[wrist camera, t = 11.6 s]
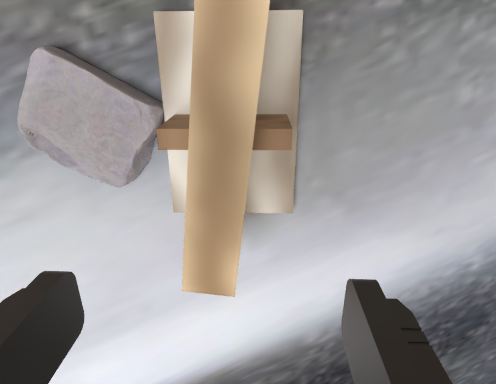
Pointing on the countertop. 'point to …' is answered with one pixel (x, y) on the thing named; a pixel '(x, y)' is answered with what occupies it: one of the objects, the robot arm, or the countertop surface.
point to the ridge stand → (267, 117)
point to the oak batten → (221, 138)
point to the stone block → (87, 117)
